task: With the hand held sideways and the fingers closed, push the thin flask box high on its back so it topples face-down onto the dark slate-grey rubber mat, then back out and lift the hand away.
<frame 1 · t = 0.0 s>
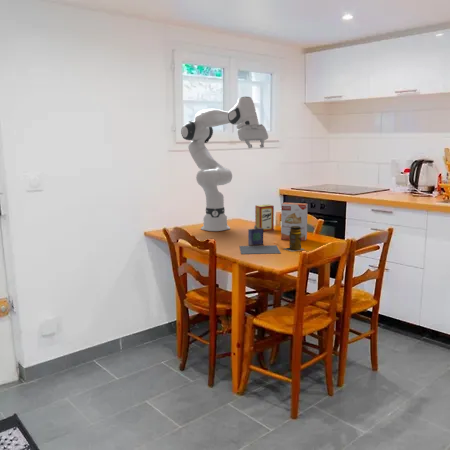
hand: (256, 147, 267), 52 cm above the table, tool tilted 20°, fingers open, 8 cm apart
flask: (255, 245, 258), on the table, touching slate mat
baking soda box: (264, 230, 299), on the table
condiment: (293, 249, 247), on the table
slate mat: (259, 249, 247), on the table
cracker box: (293, 239, 271), on the table
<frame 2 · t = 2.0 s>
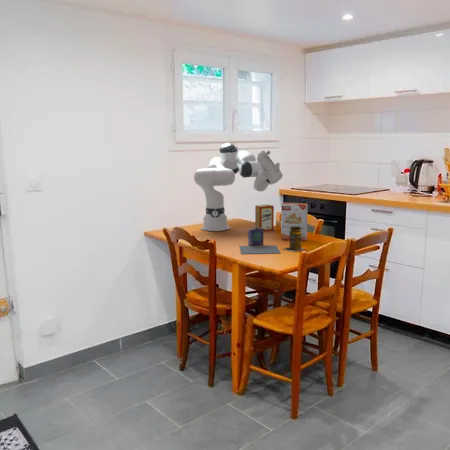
hand: (273, 157, 269), 46 cm above the table, tool pointing upward, fingers open, 8 cm apart
nothing on the table moved.
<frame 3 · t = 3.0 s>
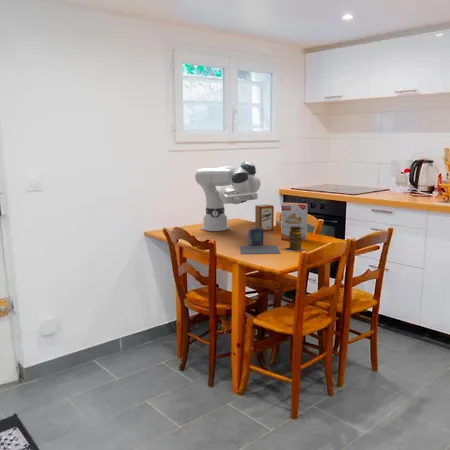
hand: (247, 198, 264), 24 cm above the table, tool horizontal, fingers open, 8 cm apart
nothing on the table moved.
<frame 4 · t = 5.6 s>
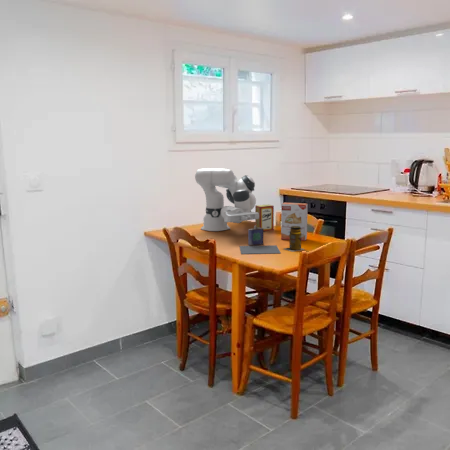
hand: (248, 218, 266), 13 cm above the table, tool horizontal, fingers closed
nothing on the table moved.
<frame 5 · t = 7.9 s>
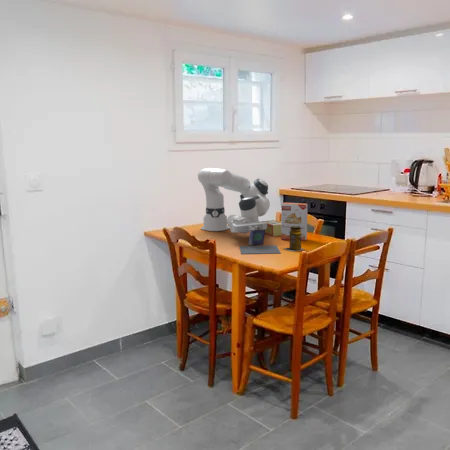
hand: (256, 229, 257), 9 cm above the table, tool horizontal, fingers closed
baking soda box: (266, 225, 296), point 3 cm above the table
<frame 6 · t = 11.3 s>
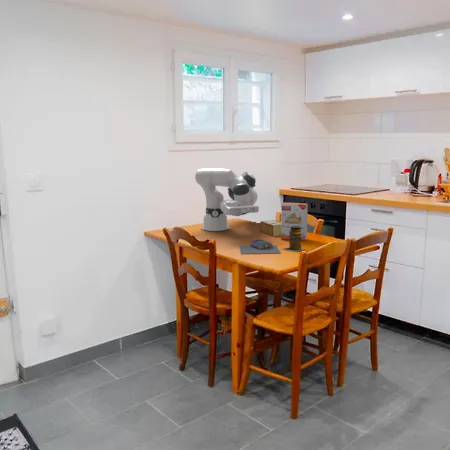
hand: (248, 211, 264), 17 cm above the table, tool horizontal, fingers closed
flask: (256, 242, 256), point 2 cm above the table, touching slate mat
everything else where it was.
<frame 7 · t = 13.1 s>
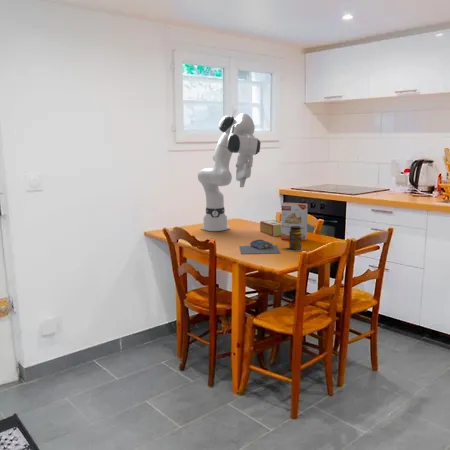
hand: (241, 187, 267), 30 cm above the table, tool tilted 15°, fingers closed
nothing on the table moved.
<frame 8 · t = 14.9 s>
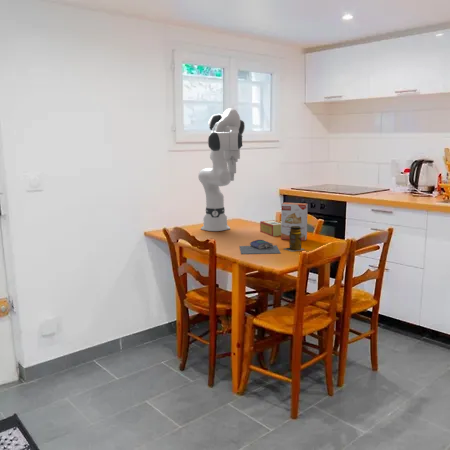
hand: (232, 180, 266), 34 cm above the table, tool pointing down, fingers closed
nothing on the table moved.
at the end: flask tilted 90°; flask touching slate mat; flask inside the target area (3.8 cm from its centre), point 1.7 cm above the table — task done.
